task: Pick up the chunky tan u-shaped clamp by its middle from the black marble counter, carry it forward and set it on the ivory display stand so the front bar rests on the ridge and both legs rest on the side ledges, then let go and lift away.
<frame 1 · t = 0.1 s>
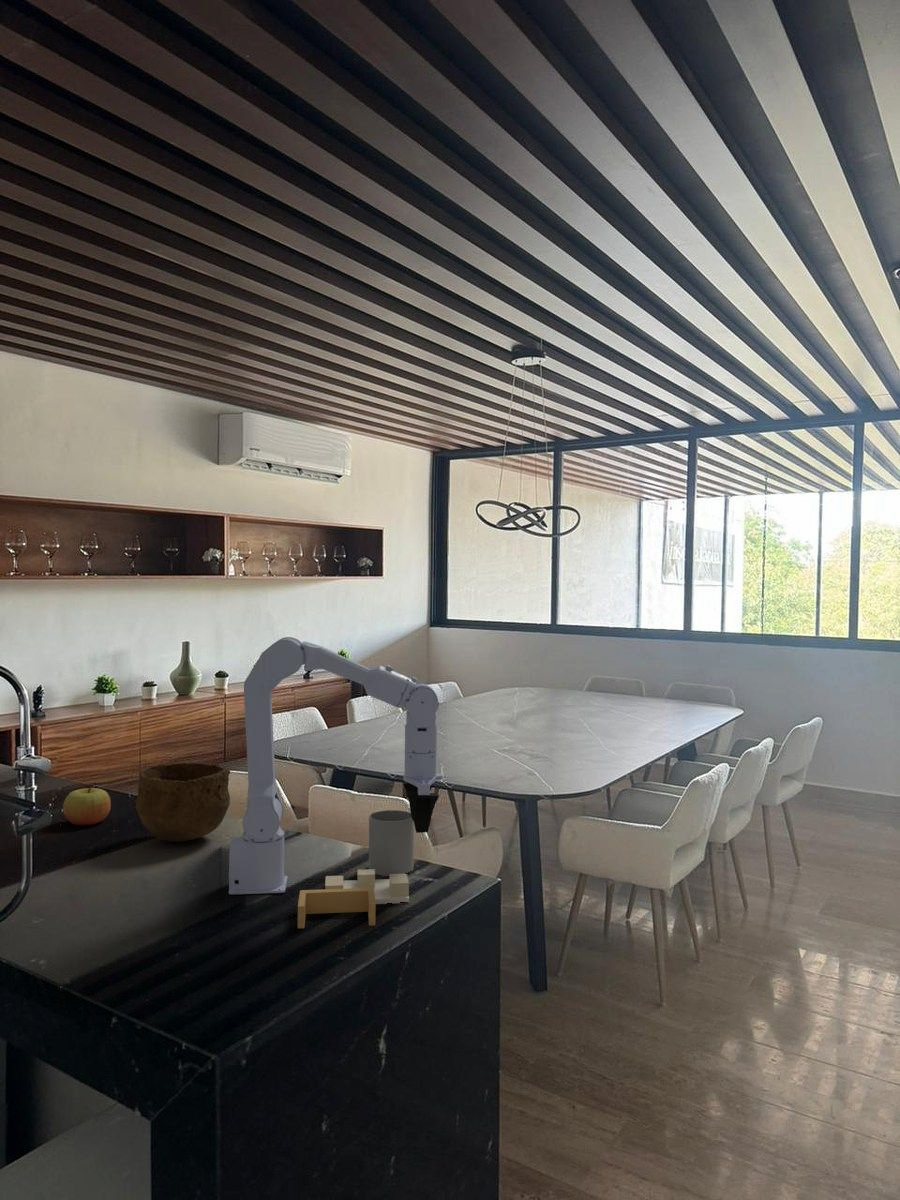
hand: (419, 826, 155), 10 cm above the countertop, fingers open, 7 cm apart
apple: (87, 823, 194), on the countertop
tan u-shaped clamp: (337, 911, 141), on the countertop
bowl: (184, 841, 181), on the countertop
display stand: (366, 889, 152), on the countertop
cup: (391, 869, 163), on the countertop
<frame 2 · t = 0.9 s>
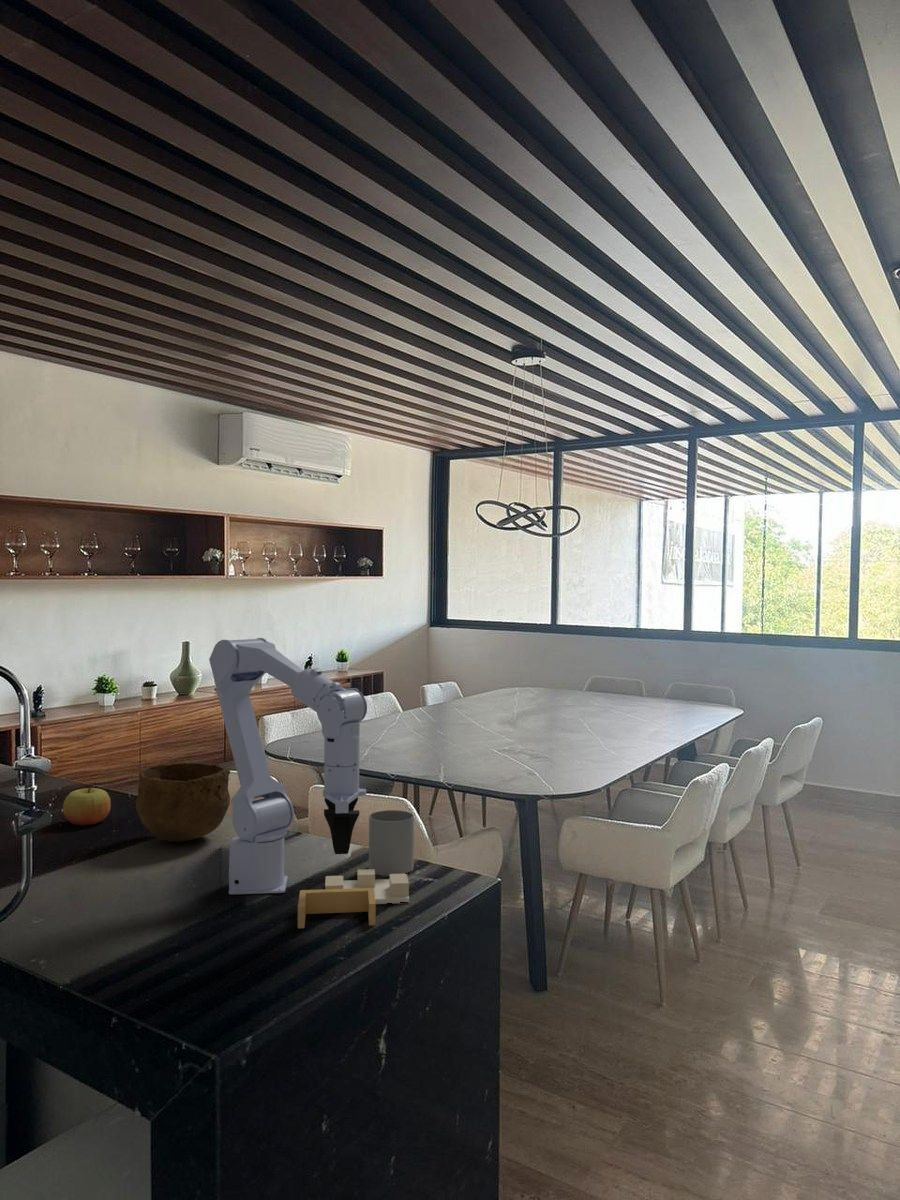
hand: (341, 846, 142), 10 cm above the countertop, fingers open, 7 cm apart
nothing on the countertop moved.
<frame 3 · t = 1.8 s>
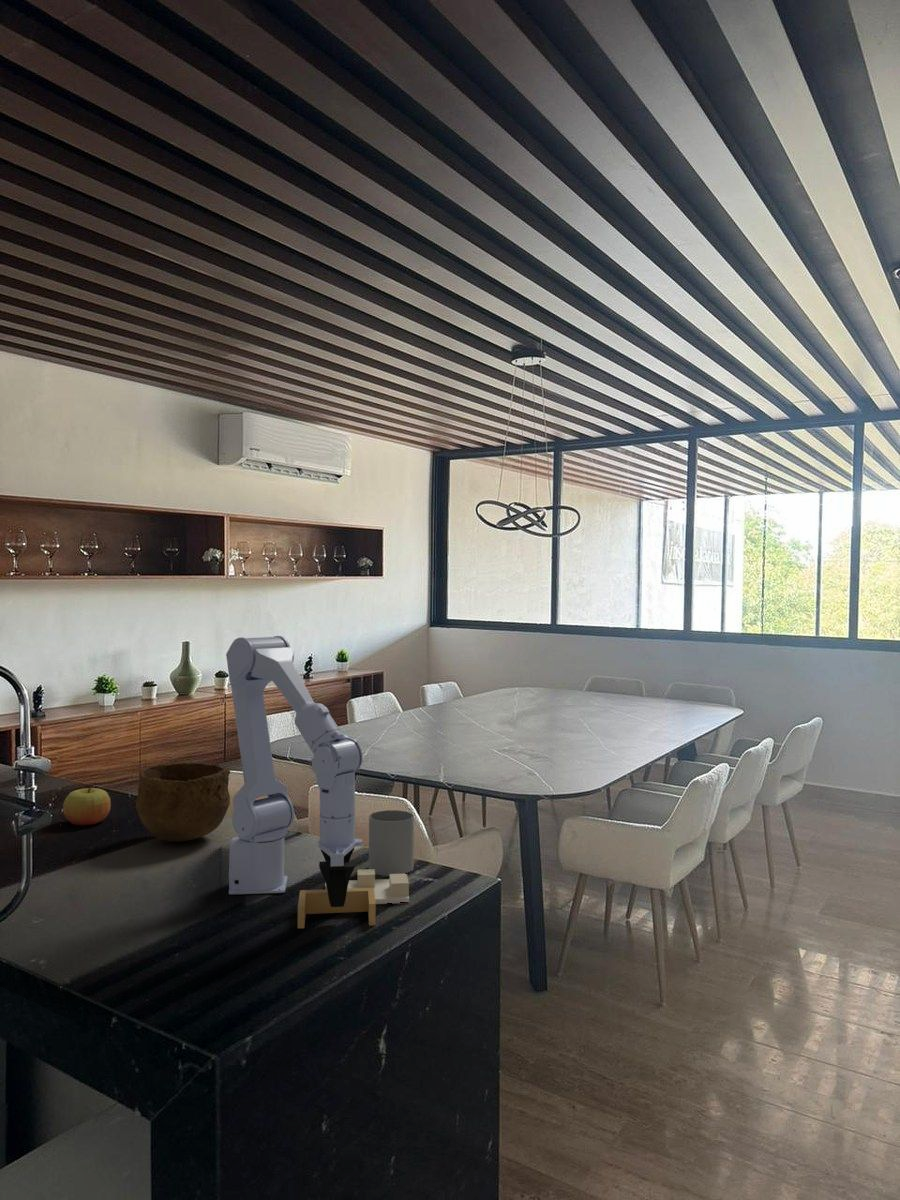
hand: (337, 897, 141), 2 cm above the countertop, fingers open, 7 cm apart
nothing on the countertop moved.
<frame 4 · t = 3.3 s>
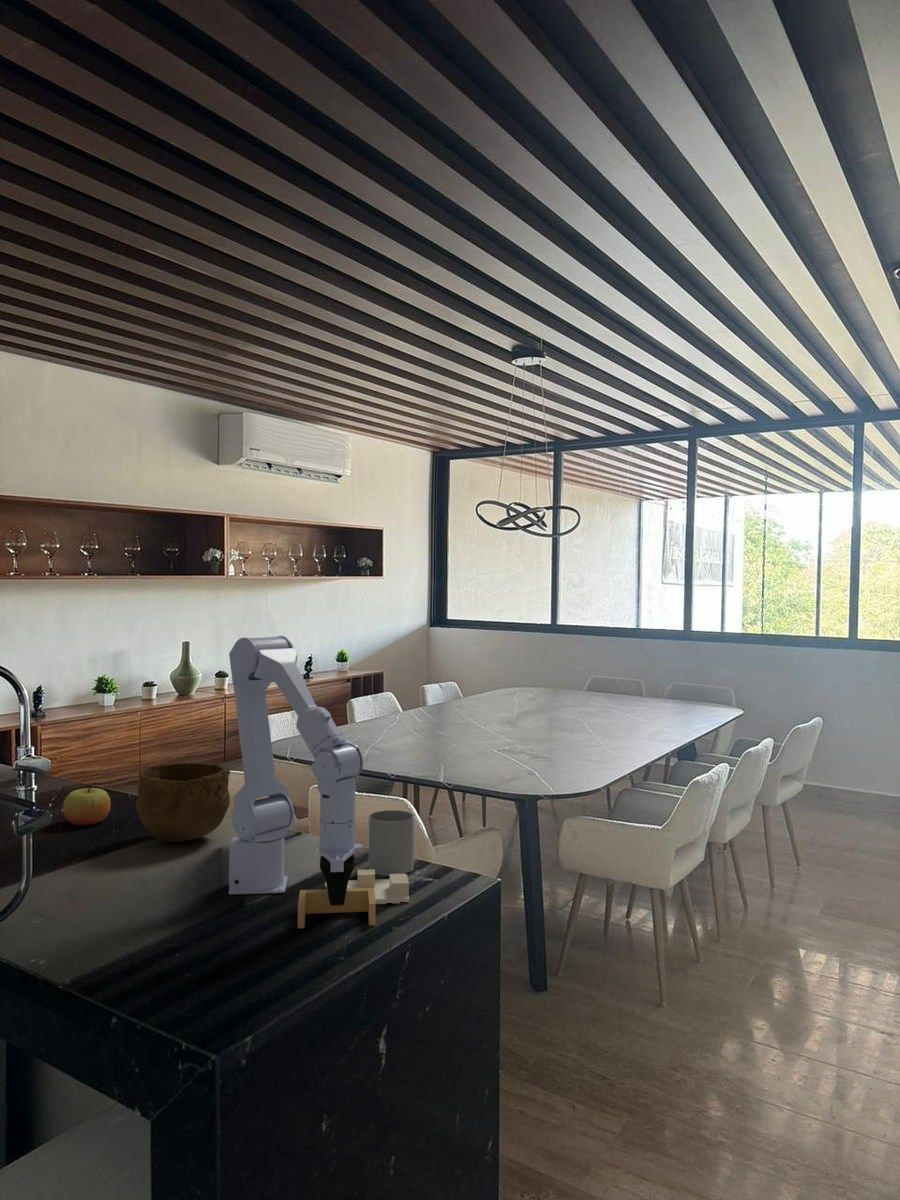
hand: (337, 902, 141), 1 cm above the countertop, fingers closed on tan u-shaped clamp
tan u-shaped clamp: (337, 911, 141), on the countertop, touching gripper
everything else where it was.
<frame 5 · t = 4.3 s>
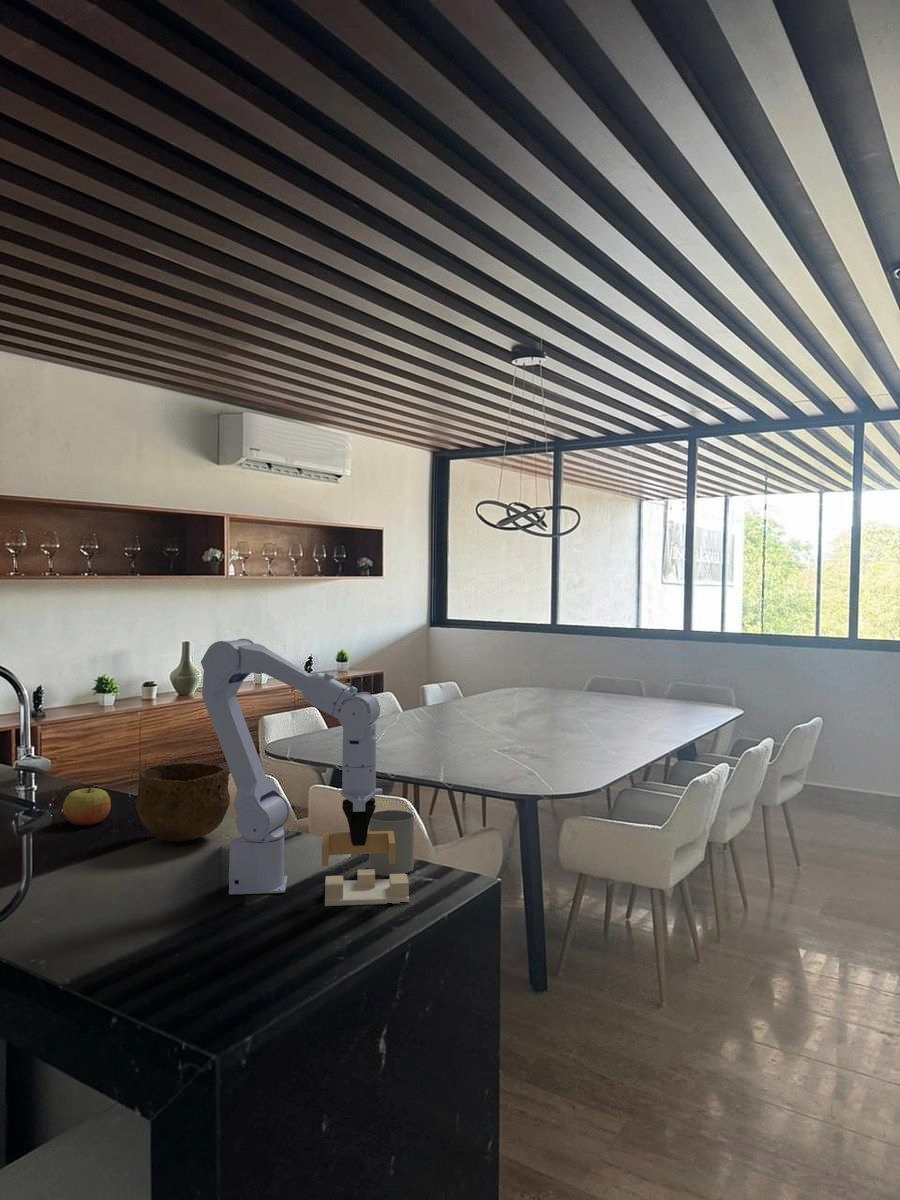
hand: (358, 843, 148), 9 cm above the countertop, fingers closed on tan u-shaped clamp
tan u-shaped clamp: (358, 852, 148), point 7 cm above the countertop, touching gripper
everything else where it was.
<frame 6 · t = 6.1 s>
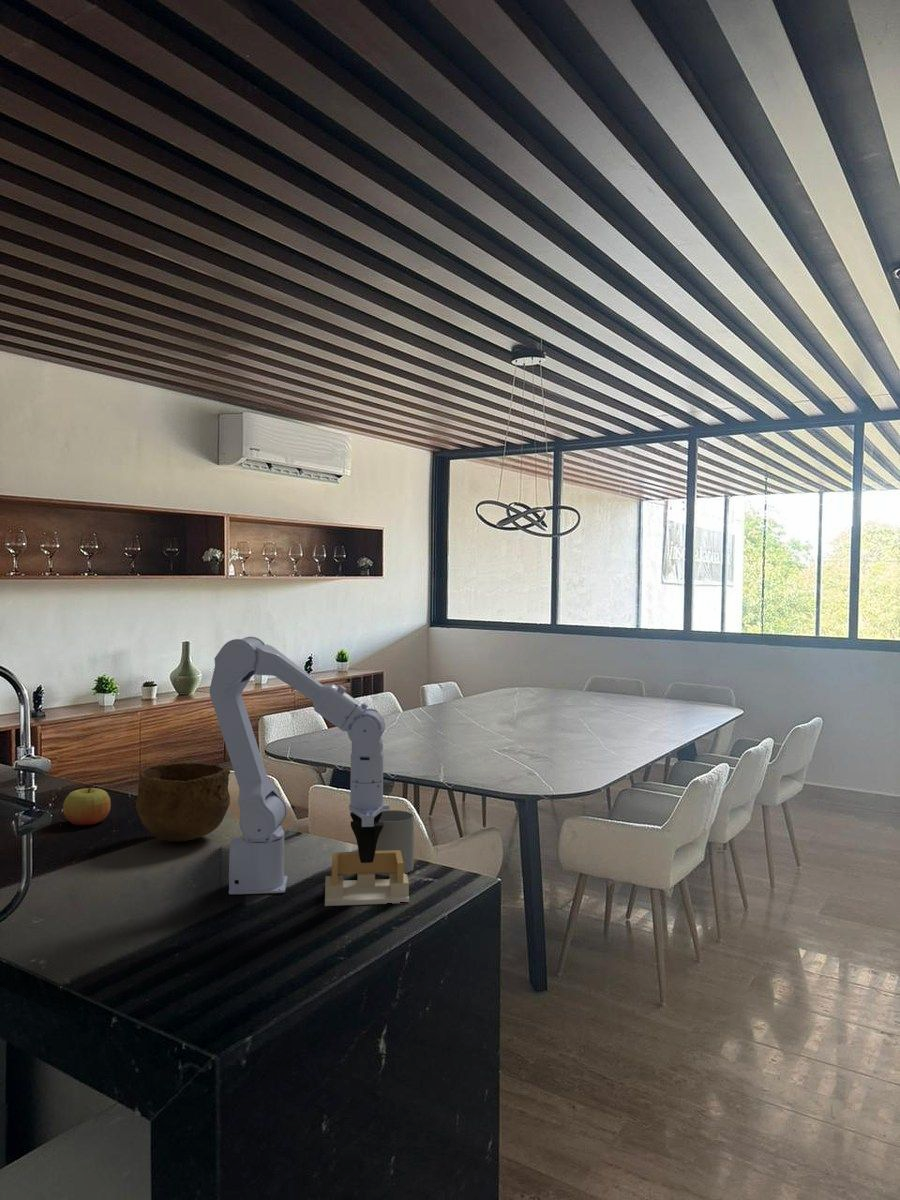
hand: (366, 857, 151), 6 cm above the countertop, fingers open, 5 cm apart
tan u-shaped clamp: (366, 871, 152), point 3 cm above the countertop, touching display stand
everything else where it was.
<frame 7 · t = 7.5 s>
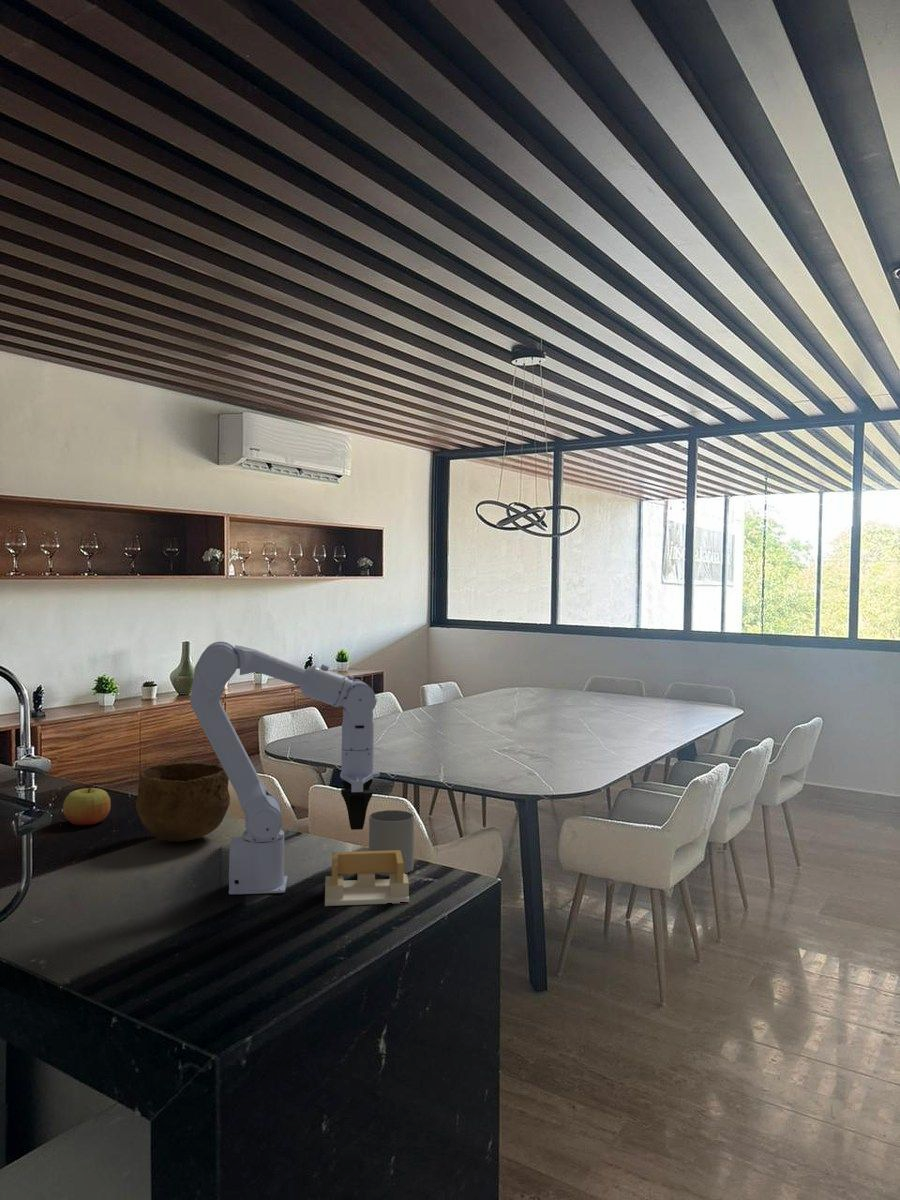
hand: (356, 823, 156), 10 cm above the countertop, fingers open, 7 cm apart
nothing on the countertop moved.
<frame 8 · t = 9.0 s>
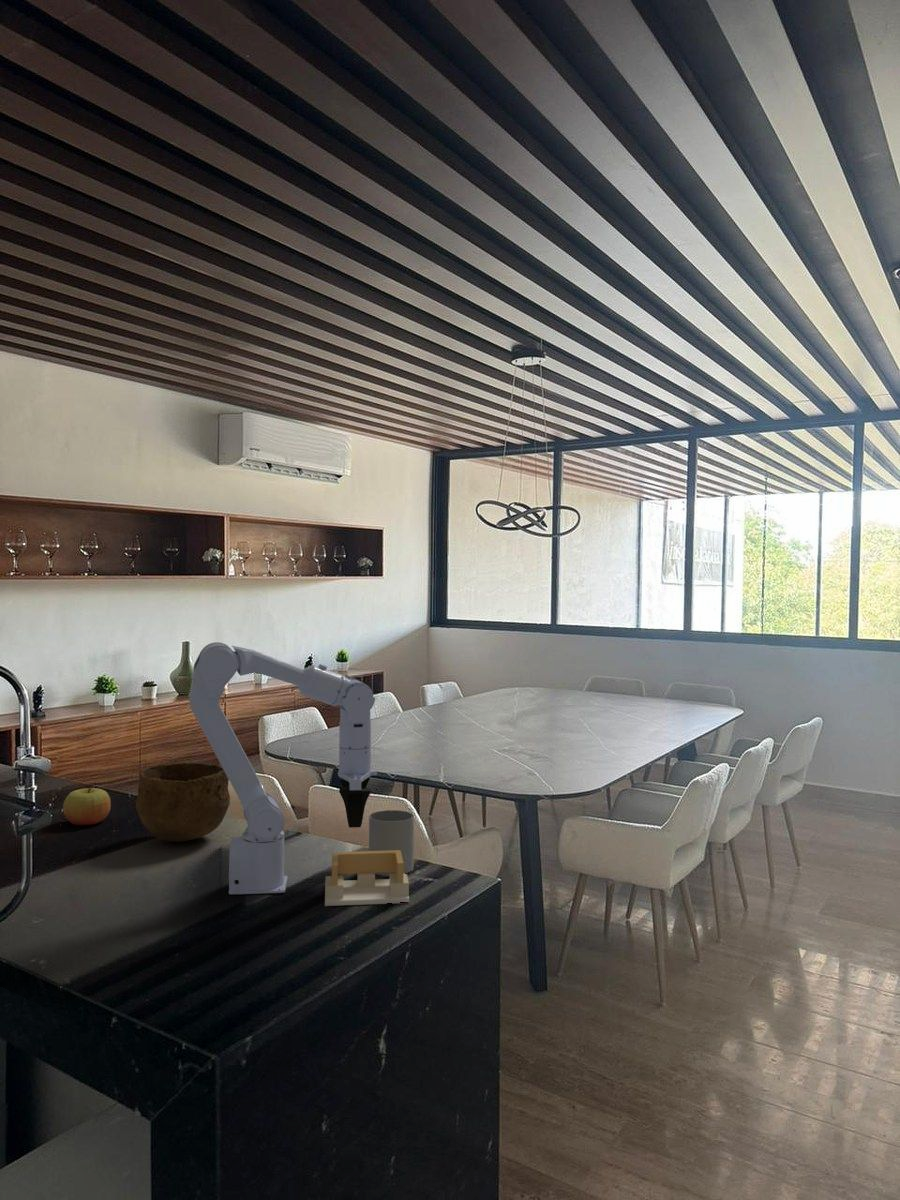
hand: (354, 821, 157), 10 cm above the countertop, fingers open, 7 cm apart
nothing on the countertop moved.
at the end: tan u-shaped clamp 0.2 cm off-centre on the display stand, point 3.0 cm above the display stand's base; tan u-shaped clamp tilted 0°; tan u-shaped clamp touching display stand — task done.
